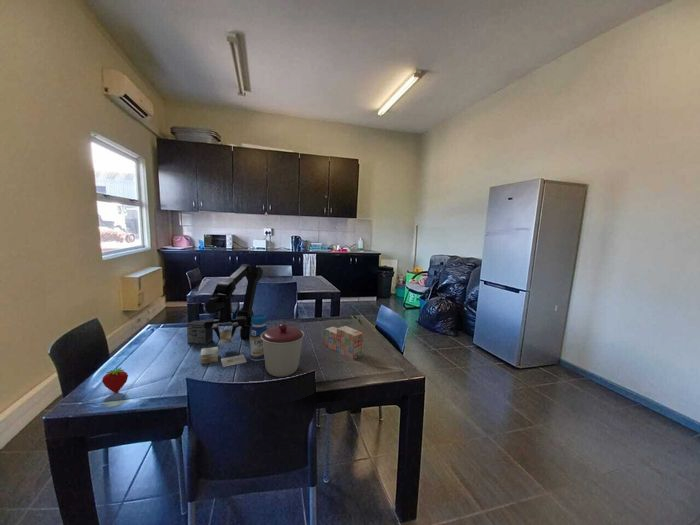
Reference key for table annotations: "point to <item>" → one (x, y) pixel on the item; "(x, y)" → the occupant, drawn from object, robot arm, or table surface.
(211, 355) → the tower base
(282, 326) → the canister
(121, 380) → the strawberry
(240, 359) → the page
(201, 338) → the small box
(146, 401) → the table surface
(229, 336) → the beige cube
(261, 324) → the beverage bottle
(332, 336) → the stack of blocks
